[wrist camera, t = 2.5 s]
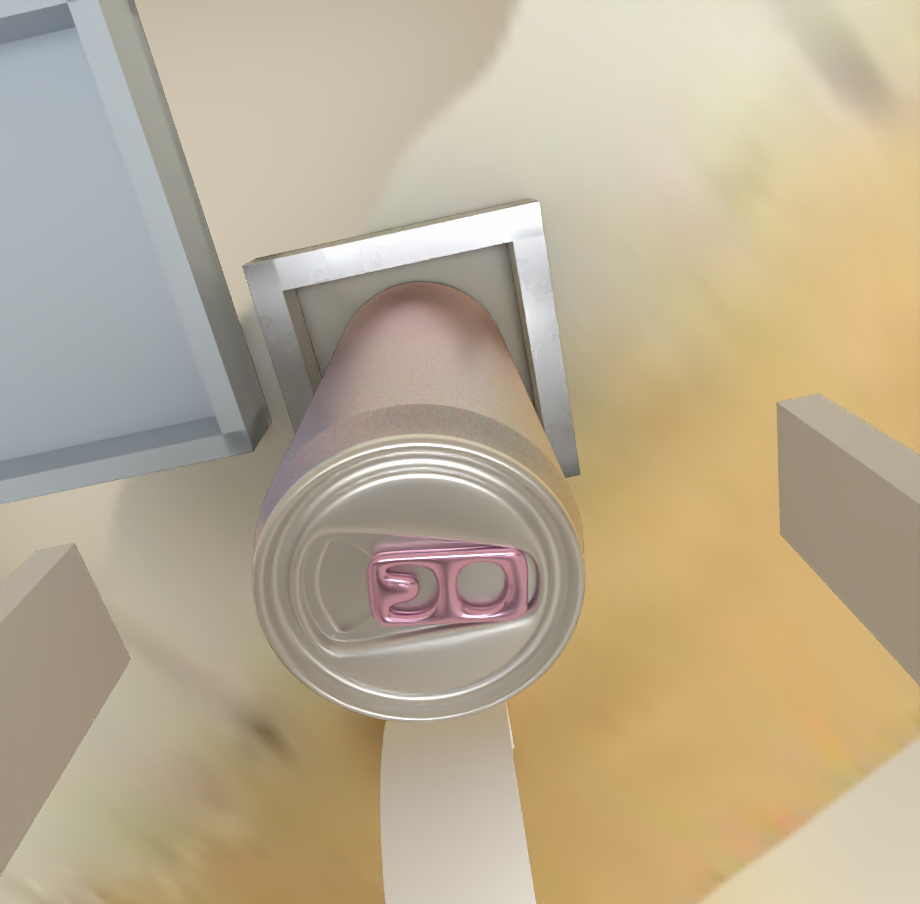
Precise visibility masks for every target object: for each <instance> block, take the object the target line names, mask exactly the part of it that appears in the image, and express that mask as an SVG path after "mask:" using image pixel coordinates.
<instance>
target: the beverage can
mask: <svg viewBox="0 0 920 904" xmlns="http://www.w3.org/2000/svg"><path fill="white" fill-rule="evenodd" d="M583 552H584V540H583V529H582V524H581V518H580V515H579V511H578V507H577V505H576V502H575V499H574V497H573V494H572V492H571V490H570V488H569V485H568V483H567V481H566V479H565V476H564V474H563V472H562V470H561V467H560V465H559V463H558V461H557V459H556V456H555V454H554V452H553V450H552V447H551V445H550V443H549V441H548V438H547V436H546V434H545V432H544V429H543V427H542V425H541V423H540V420H539V418H538V416H537V414H536V412H535V409H534V407H533V405H532V403H531V400H530V398H529V396H528V394H527V391H526V389H525V387H524V385H523V382H522V380H521V378H520V376H519V373H518V371H517V369H516V367H515V365H514V362H513V360H512V358H511V356H510V353H509V351H508V349H507V347H506V344H505V342H504V340H503V338H502V335H501V333H500V331H499V329H498V327H497V325H496V324H495V322H494V320H493V319H492V317H491V316H490V315H489V313H488V312H487V311H486V310H485V309H484V308H483V307H482V306H481V305H480V304H479V303H478V302H477V301H475V300H474V299H473V298H471V297H470V296H468V295H467V294H465V293H463V292H461V291H459V290H457V289H455V288H452V287H449V286H446V285H442V284H438V283H431V282H413V283H406V284H402V285H398V286H395V287H392V288H389V289H387V290H385V291H383V292H381V293H379V294H377V295H376V296H374V297H373V298H371V299H370V300H369V301H368V302H366V303H365V304H364V305H363V306H362V307H361V308H360V309H359V310H358V311H357V313H356V314H355V315H354V317H353V318H352V319H351V321H350V323H349V324H348V326H347V328H346V330H345V332H344V334H343V336H342V338H341V341H340V343H339V345H338V347H337V349H336V351H335V353H334V355H333V357H332V359H331V361H330V363H329V365H328V368H327V370H326V372H325V374H324V376H323V378H322V380H321V382H320V384H319V386H318V388H317V390H316V392H315V394H314V397H313V399H312V401H311V403H310V405H309V407H308V409H307V411H306V413H305V415H304V417H303V419H302V421H301V424H300V426H299V428H298V430H297V432H296V434H295V436H294V438H293V440H292V442H291V444H290V446H289V448H288V451H287V453H286V455H285V457H284V459H283V461H282V463H281V465H280V467H279V469H278V471H277V473H276V475H275V478H274V480H273V482H272V484H271V486H270V488H269V490H268V492H267V494H266V497H265V499H264V501H263V504H262V507H261V510H260V513H259V517H258V521H257V527H256V533H255V557H254V563H253V573H252V589H253V598H254V605H255V609H256V613H257V617H258V620H259V623H260V626H261V628H262V630H263V633H264V635H265V637H266V639H267V641H268V643H269V644H270V646H271V648H272V649H273V651H274V652H275V654H276V655H277V657H278V658H279V659H280V661H281V662H282V663H283V664H284V665H285V667H286V668H287V669H288V670H289V671H290V672H291V673H292V674H293V675H294V676H295V677H296V678H297V679H298V680H299V681H300V682H302V683H303V684H304V685H305V686H307V687H308V688H309V689H311V690H312V691H313V692H315V693H316V694H318V695H319V696H321V697H323V698H324V699H326V700H328V701H330V702H332V703H334V704H336V705H338V706H340V707H342V708H344V709H347V710H349V711H352V712H355V713H358V714H361V715H364V716H368V717H372V718H376V719H381V720H387V721H393V722H404V723H431V722H441V721H448V720H454V719H459V718H463V717H467V716H470V715H474V714H477V713H480V712H483V711H486V710H488V709H490V708H493V707H495V706H497V705H499V704H501V703H503V702H505V701H507V700H509V699H511V698H512V697H514V696H516V695H517V694H519V693H520V692H522V691H523V690H525V689H526V688H528V687H529V686H530V685H531V684H533V683H534V682H535V681H536V680H537V679H538V678H540V677H541V676H542V675H543V674H544V673H545V672H546V671H547V670H548V669H549V668H550V666H551V665H552V664H553V663H554V662H555V660H556V659H557V658H558V657H559V655H560V654H561V652H562V651H563V649H564V648H565V646H566V645H567V643H568V641H569V639H570V638H571V636H572V634H573V631H574V629H575V627H576V624H577V622H578V619H579V616H580V612H581V609H582V605H583V599H584V591H585V565H584V558H583Z"/></svg>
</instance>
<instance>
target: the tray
mask: <svg viewBox="0 0 920 904" xmlns="http://www.w3.org/2000/svg"><path fill="white" fill-rule="evenodd" d="M270 423H271V418H270V415H269V412H268V409H267V405H266V402H265V399H264V396H263V393H262V390H261V387H260V384H259V381H258V378H257V375H256V372H255V369H254V366H253V363H252V360H251V357H250V354H249V351H248V347H247V344H246V341H245V338H244V335H243V332H242V329H241V326H240V323H239V320H238V317H237V314H236V311H235V308H234V305H233V302H232V299H231V296H230V293H229V289H228V286H227V284H226V280H225V277H224V275H223V271H222V268H221V265H220V262H219V259H218V256H217V253H216V250H215V247H214V244H213V241H212V238H211V235H210V231H209V228H208V225H207V222H206V219H205V216H204V213H203V210H202V207H201V204H200V201H199V198H198V195H197V192H196V189H195V186H194V183H193V179H192V176H191V173H190V170H189V167H188V164H187V161H186V158H185V155H184V152H183V149H182V146H181V143H180V140H179V137H178V134H177V131H176V128H175V124H174V121H173V119H172V115H171V112H170V110H169V106H168V103H167V100H166V97H165V94H164V91H163V88H162V85H161V82H160V79H159V76H158V73H157V70H156V66H155V64H154V60H153V57H152V54H151V51H150V48H149V45H148V42H147V39H146V36H145V33H144V30H143V27H142V24H141V21H140V18H139V15H138V11H137V8H136V5H135V2H134V0H0V504H4V503H9V502H14V501H18V500H23V499H28V498H33V497H37V496H42V495H47V494H52V493H56V492H62V491H66V490H70V489H76V488H81V487H85V486H90V485H94V484H100V483H105V482H109V481H114V480H119V479H124V478H129V477H133V476H138V475H143V474H148V473H153V472H157V471H162V470H167V469H172V468H177V467H181V466H186V465H191V464H196V463H201V462H205V461H210V460H215V459H220V458H225V457H229V456H234V455H239V454H244V453H249V452H253V451H254V450H255V448H256V446H257V445H258V443H259V441H260V440H261V438H262V436H263V435H264V433H265V431H266V430H267V428H268V426H269V425H270Z"/></svg>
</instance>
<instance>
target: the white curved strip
mask: <svg viewBox="0 0 920 904" xmlns="http://www.w3.org/2000/svg"><path fill="white" fill-rule="evenodd" d="M512 748H514V742H513V736H512V730H511V724H510V718H509V712H508V706H507V701H505V702H503V703H501V704H499V705H497V706H495V707H493V708H490V709H488V710H486V711H483V712H480V713H477V714H474V715H470V716H467V717H463V718H459V719H454V720H448V721H441V722H431V723H404V722H393V721H387V720H386V724H385V729H384V736H383V744H382V756H381V778H380V824H381V850H382V869H383V883H384V896H385V904H536V898H535V892H534V885H533V879H532V873H531V867H530V860H529V854H528V848H527V841H526V835H525V829H524V822H523V816H522V809H521V803H520V796H519V790H518V783H517V777H516V770H515V764H514V757H513V750H512Z"/></svg>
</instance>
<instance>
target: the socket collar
mask: <svg viewBox="0 0 920 904" xmlns="http://www.w3.org/2000/svg"><path fill="white" fill-rule="evenodd" d="M502 243H508V249H509V255H510V261H511V266H512V272H513V278H514V284H515V290H516V296H517V301H518V307H519V313H520V319H521V325H522V331H523V336H524V342H525V348H526V354H527V360H528V366H529V372H530V377H531V383H532V389H533V395H534V401H535V407H536V412H537V416H538V418H539V420H540V423H541V425H542V427H543V429H544V432H545V434H546V436H547V438H548V441H549V443H550V445H551V447H552V450H553V452H554V454H555V456H556V459H557V461H558V463H559V465H560V467H561V470H562V472H563V474H564V476H565V478H567V477H572V476H577V475H580V469H579V462H578V456H577V449H576V443H575V436H574V429H573V423H572V416H571V409H570V403H569V396H568V390H567V383H566V376H565V370H564V363H563V356H562V350H561V343H560V337H559V330H558V323H557V317H556V310H555V304H554V297H553V290H552V284H551V277H550V270H549V264H548V257H547V251H546V244H545V237H544V231H543V224H542V218H541V211H540V204H539V201H536V200H533V199H526V200H522V201H517V202H512V203H508V204H503V205H499V206H494V207H489V208H485V209H480V210H476V211H471V212H467V213H462V214H457V215H453V216H448V217H444V218H439V219H434V220H430V221H425V222H421V223H416V224H411V225H407V226H402V227H398V228H393V229H389V230H384V231H379V232H375V233H370V234H366V235H361V236H356V237H352V238H347V239H343V240H338V241H334V242H329V243H324V244H320V245H315V246H311V247H306V248H302V249H297V250H293V251H288V252H283V253H279V254H274V255H269V256H265V257H260V258H256V259H255V260H253V261H251V262H249V263H247V264H246V265H244V266H242V267H243V270H244V273H245V276H246V280H247V283H248V286H249V289H250V292H251V296H252V299H253V302H254V305H255V308H256V311H257V315H258V318H259V321H260V324H261V327H262V330H263V334H264V337H265V340H266V343H267V346H268V349H269V353H270V356H271V359H272V362H273V365H274V368H275V372H276V375H277V378H278V381H279V384H280V387H281V390H282V394H283V397H284V400H285V403H286V406H287V409H288V413H289V416H290V419H291V422H292V425H293V428H294V432H295V434H296V432H297V430H298V428H299V426H300V424H301V421H302V419H303V417H304V415H305V413H306V411H307V409H308V407H309V405H310V403H311V401H312V399H313V397H314V394H315V392H316V390H317V388H318V386H319V384H320V382H321V380H322V378H321V375H320V371H319V368H318V365H317V361H316V358H315V354H314V351H313V347H312V344H311V340H310V337H309V334H308V330H307V327H306V323H305V320H304V316H303V313H302V310H301V306H300V303H299V299H298V296H297V292H296V289H295V288H299V287H303V286H308V285H313V284H317V283H322V282H326V281H331V280H336V279H340V278H345V277H350V276H354V275H359V274H363V273H368V272H373V271H377V270H382V269H387V268H391V267H396V266H400V265H405V264H410V263H414V262H419V261H424V260H428V259H433V258H437V257H442V256H447V255H451V254H456V253H461V252H465V251H470V250H474V249H479V248H484V247H488V246H493V245H498V244H502Z"/></svg>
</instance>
